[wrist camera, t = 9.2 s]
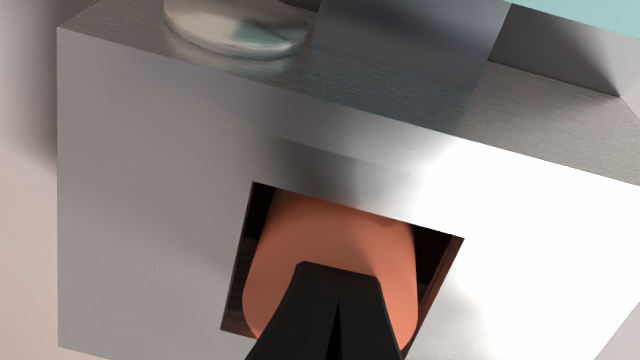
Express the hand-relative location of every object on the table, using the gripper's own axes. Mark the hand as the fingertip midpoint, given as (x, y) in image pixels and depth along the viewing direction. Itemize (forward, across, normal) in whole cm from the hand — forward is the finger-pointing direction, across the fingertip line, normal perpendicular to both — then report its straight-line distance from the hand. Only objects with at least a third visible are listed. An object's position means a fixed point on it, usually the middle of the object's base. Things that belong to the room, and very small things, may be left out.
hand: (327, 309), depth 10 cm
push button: (+4, 0, 0) cm, 4 cm away
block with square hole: (+4, 0, 0) cm, 4 cm away
